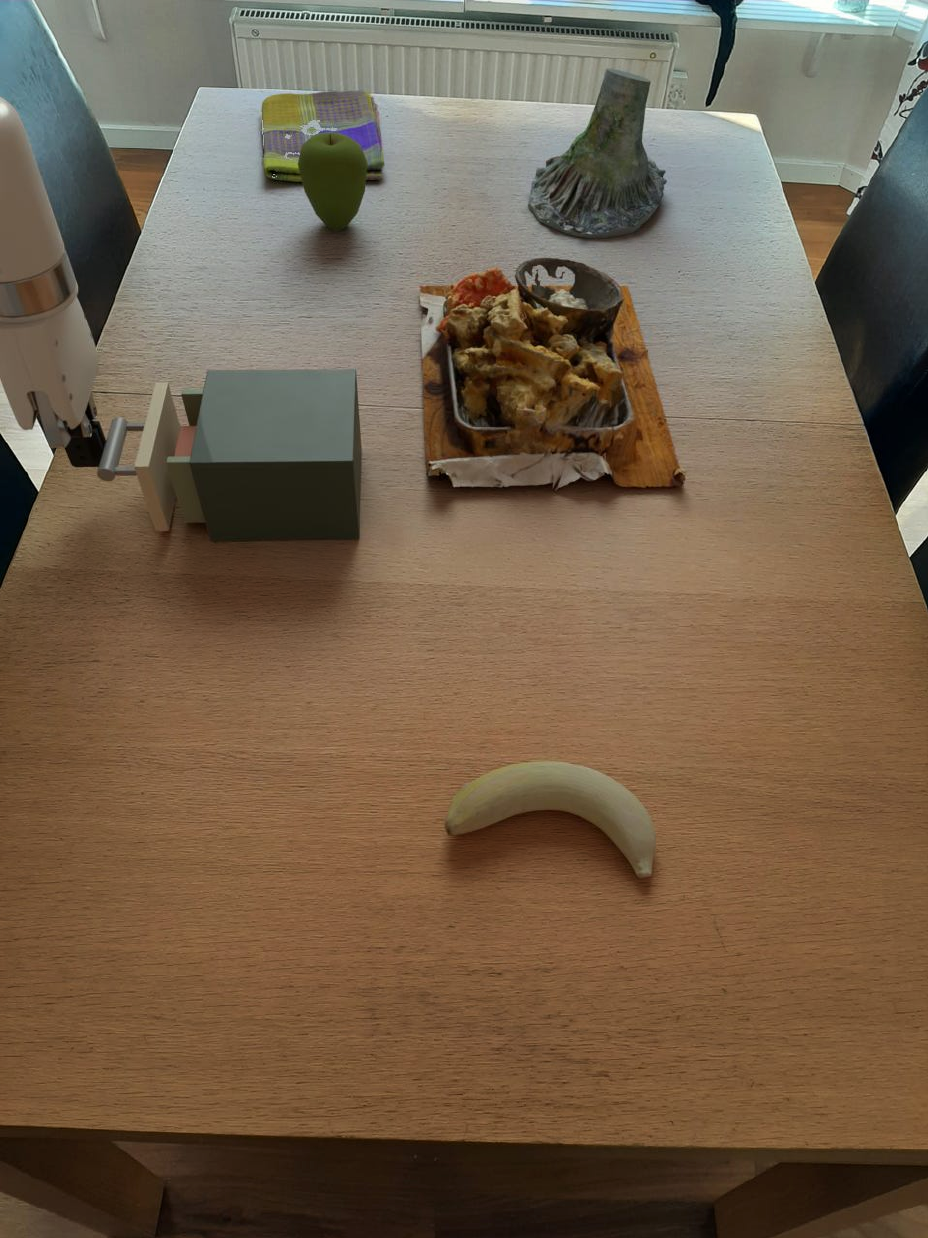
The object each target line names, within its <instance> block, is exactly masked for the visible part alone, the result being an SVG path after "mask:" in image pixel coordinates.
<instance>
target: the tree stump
mask: <svg viewBox="0 0 928 1238" xmlns="http://www.w3.org/2000/svg"><path fill="white" fill-rule="evenodd" d="M604 71H605V72H604V74H603V75H604V76H603V79H602V83H601V86H600V89H599V93H598V96H597V99H596V102H595V105H594V108H593V110H592V113H591V115H590V118H589V121H588V124H587V127H586V128H585V129H584V131H583V132H582V133H580V134H578V135H577V136H576V137H575V139H574V140H573V141H572V143H571V144H570V146H569V148H568V149H567V150H566V151H565V152H564V153H562V154H560V155H555V156H553V157H550V158H549V159H547V160H545V167H537V168H536V170H535V176H534V178H533V179H532V181H531V187H530V195H529V197H528V201H527V202H528V203H527V207H528V208H529V210H530V211H531V212H532V213H533V215H534V216H535V218H536V219H537V220H538V221H539V223H540V224H543V225H545V226H548V227H549V228H552V229H554V230H556V231H558V232H561V233H563V234H565V235H569V236H575V237H578V238H586V239H610V238H613V237H619V236H625V235H630V234H634V233H635V232H636V231H637V230H639V229H640V228H641V227H643V226H644V225H645V223H647V222H648V220H649V219H650V218H651V217H652V216H653V214H654V213H655V212H656V211H657V208H658V207H659V205H660V203H661V201H662V198H663V197H664V190H665V185H666V184H667V181H668V180H667V179H665V178H664V176H665V174H666V173H667V171H666V170H664V169H660V168H658V166H657V164H656V162H655V161H654V160H653V159H652V158H650V157H649V156H648V153H647V151H646V149H645V147H644V144H643V133H644V125H645V118H646V117H645V116H646V108H647V102H648V98H649V92H650V87H651V82H652V81H651V80H650V79H648V78H646V77H644V76H640V75H638V74H635V73H632V72H628V71H623V70H620V69H616V68H615V69H614V68H605V70H604Z"/></svg>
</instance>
